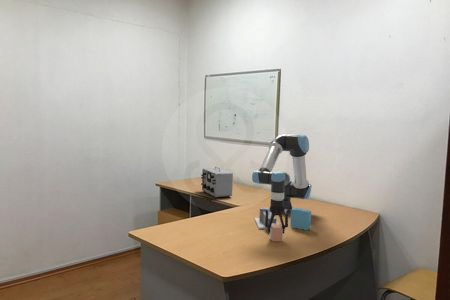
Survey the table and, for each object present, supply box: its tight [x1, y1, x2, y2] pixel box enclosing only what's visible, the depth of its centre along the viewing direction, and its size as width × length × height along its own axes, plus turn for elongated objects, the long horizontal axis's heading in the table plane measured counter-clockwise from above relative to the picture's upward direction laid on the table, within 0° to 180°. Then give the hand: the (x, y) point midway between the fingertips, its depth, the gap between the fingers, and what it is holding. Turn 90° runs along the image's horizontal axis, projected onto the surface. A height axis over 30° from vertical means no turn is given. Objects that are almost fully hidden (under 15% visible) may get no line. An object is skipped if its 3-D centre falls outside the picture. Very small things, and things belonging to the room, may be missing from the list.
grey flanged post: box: [254, 207, 279, 232], centre depth 215 cm, size 14×24×10 cm, turn 3°
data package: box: [289, 207, 312, 231], centre depth 211 cm, size 12×4×12 cm, turn 58°
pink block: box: [270, 222, 283, 242], centre depth 190 cm, size 6×8×8 cm
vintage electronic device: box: [200, 166, 234, 199], centre depth 301 cm, size 32×18×25 cm, turn 25°
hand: (275, 238), depth 190 cm, fingers closed on pink block, 6 cm apart
